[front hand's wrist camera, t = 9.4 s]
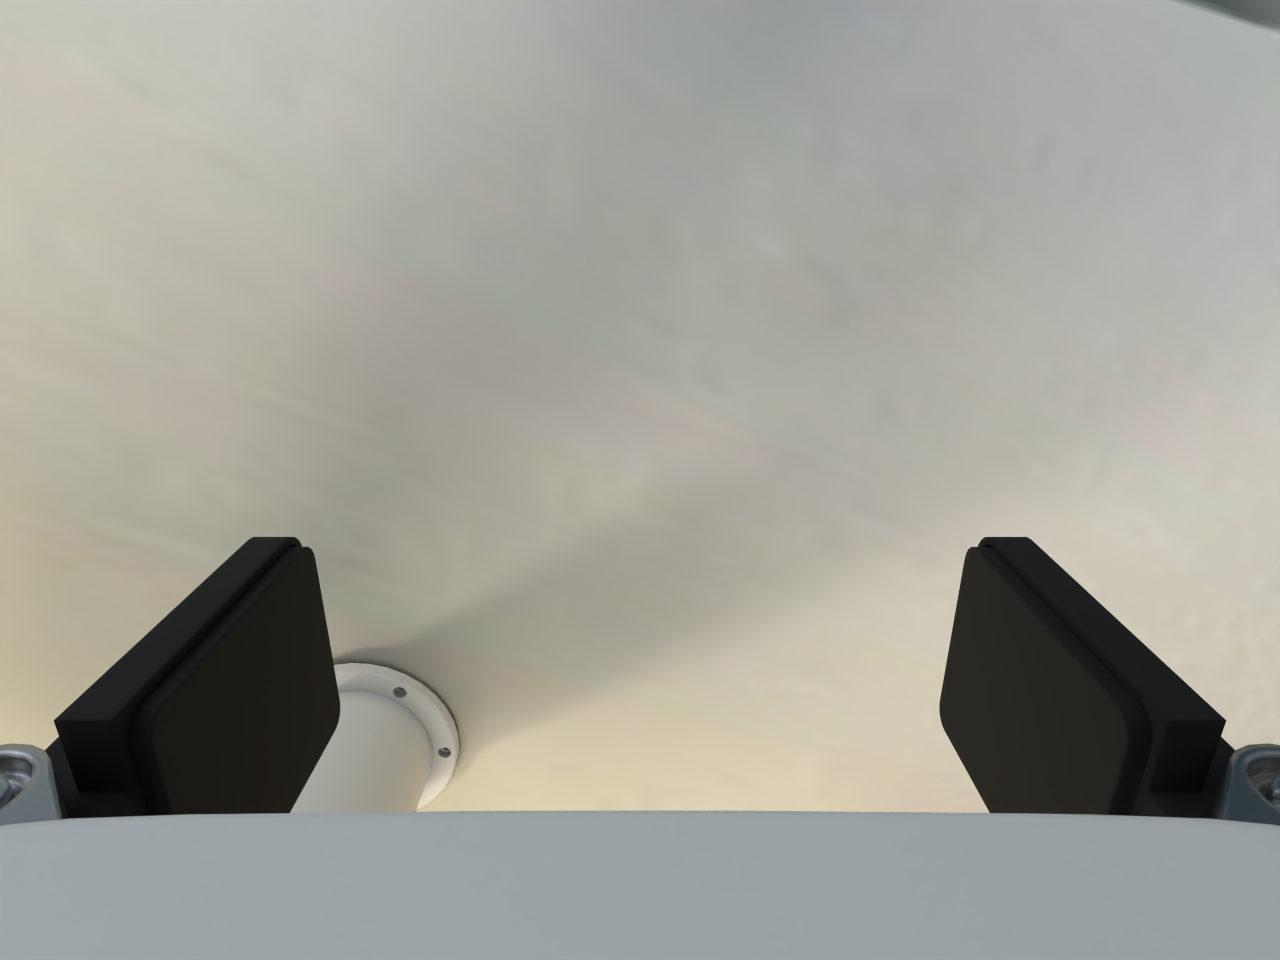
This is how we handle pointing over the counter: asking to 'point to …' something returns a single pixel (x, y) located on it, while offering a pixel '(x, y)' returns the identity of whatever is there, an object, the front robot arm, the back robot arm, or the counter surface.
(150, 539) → the counter surface
